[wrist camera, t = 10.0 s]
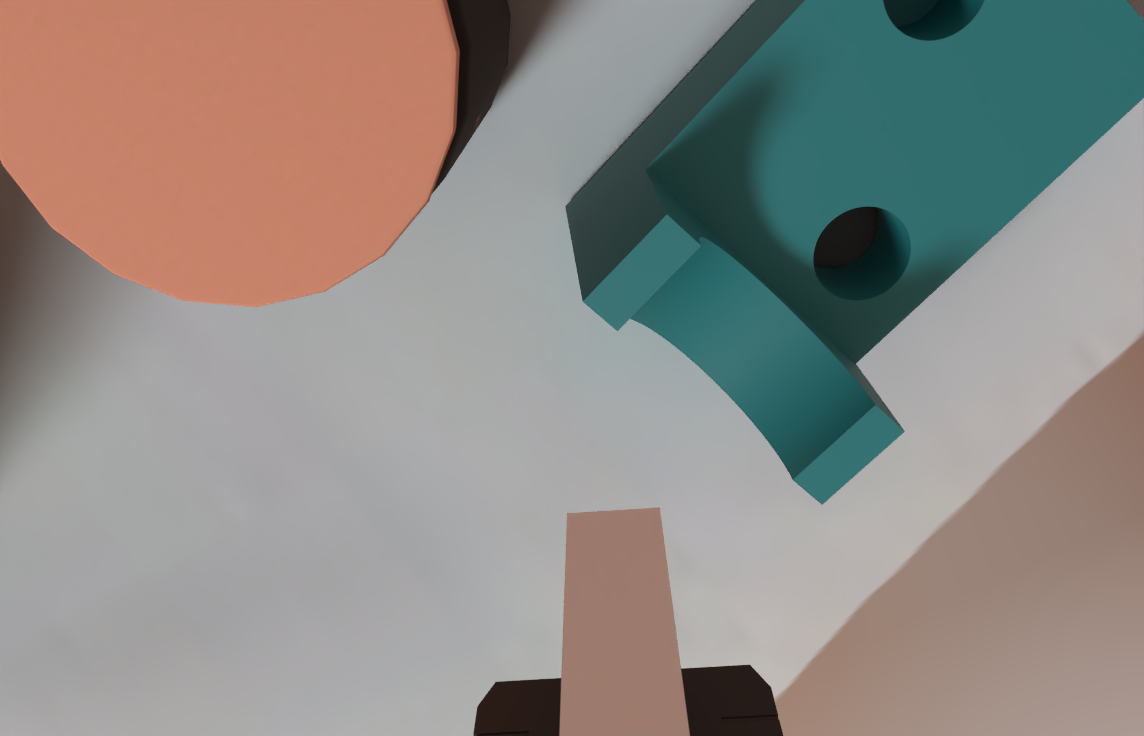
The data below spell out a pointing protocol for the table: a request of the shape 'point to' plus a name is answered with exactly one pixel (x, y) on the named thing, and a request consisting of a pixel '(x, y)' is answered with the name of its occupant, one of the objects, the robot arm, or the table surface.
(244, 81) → the coffee jar
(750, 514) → the table surface
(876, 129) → the teal l-shaped bracket
